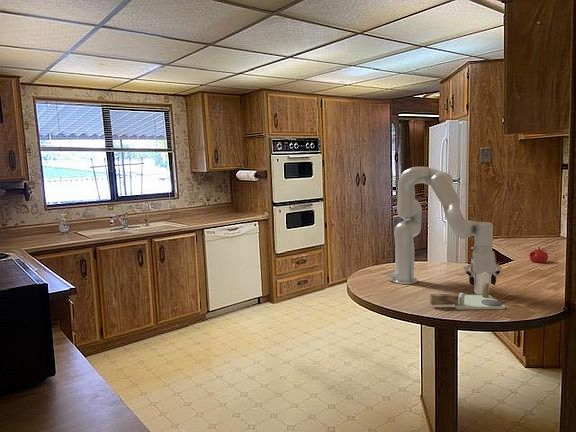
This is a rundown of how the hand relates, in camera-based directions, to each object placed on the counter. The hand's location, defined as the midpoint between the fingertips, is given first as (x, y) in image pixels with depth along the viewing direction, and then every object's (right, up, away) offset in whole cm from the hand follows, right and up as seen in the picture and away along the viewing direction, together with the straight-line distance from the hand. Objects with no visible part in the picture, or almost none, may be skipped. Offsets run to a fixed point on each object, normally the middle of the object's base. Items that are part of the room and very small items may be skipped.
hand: (482, 284), depth 205 cm
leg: (-24, -6, -17) cm, 30 cm away
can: (0, -4, +1) cm, 5 cm away
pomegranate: (+60, +4, +59) cm, 84 cm away
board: (-10, -6, -13) cm, 17 cm away
